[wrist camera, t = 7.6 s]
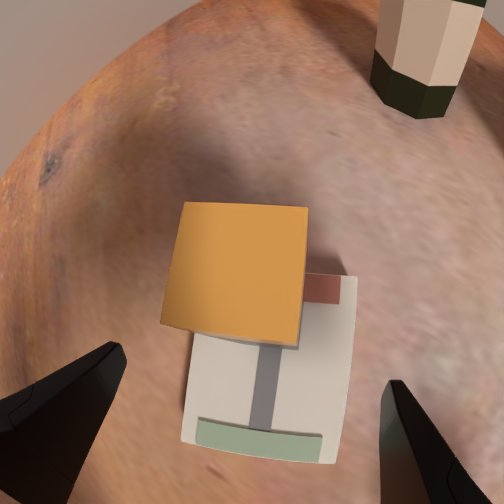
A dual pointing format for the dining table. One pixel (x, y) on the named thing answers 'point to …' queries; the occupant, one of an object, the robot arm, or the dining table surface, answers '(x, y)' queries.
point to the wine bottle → (423, 52)
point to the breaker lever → (239, 273)
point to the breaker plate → (278, 384)
